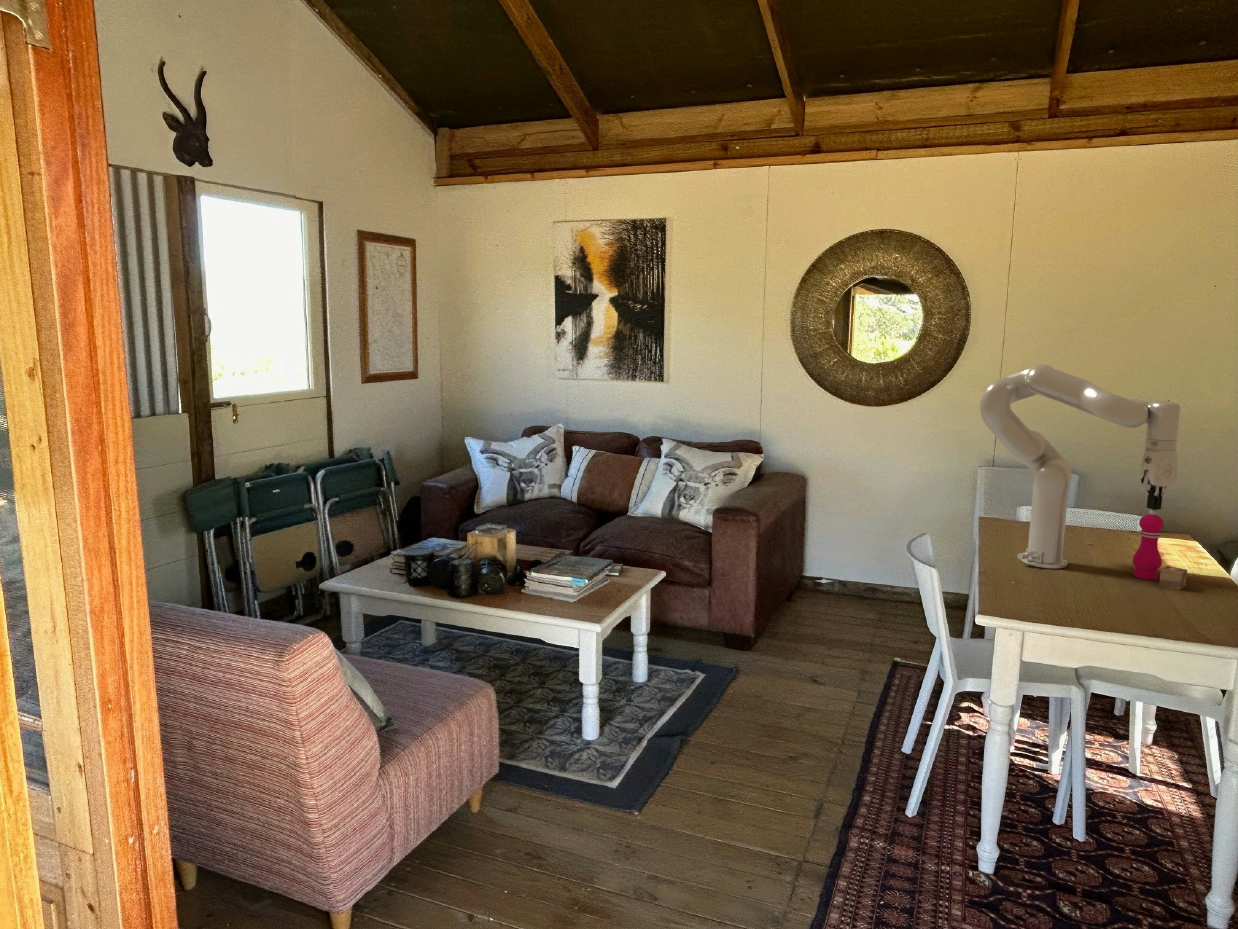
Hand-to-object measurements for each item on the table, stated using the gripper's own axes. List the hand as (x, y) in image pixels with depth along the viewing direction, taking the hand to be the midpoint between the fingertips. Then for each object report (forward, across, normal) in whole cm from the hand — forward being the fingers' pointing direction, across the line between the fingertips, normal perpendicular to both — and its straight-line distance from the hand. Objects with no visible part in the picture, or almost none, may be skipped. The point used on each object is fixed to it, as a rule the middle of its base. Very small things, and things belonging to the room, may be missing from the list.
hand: (1153, 508), depth 249 cm
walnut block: (+20, -2, -9) cm, 22 cm away
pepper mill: (+20, 0, 0) cm, 20 cm away
